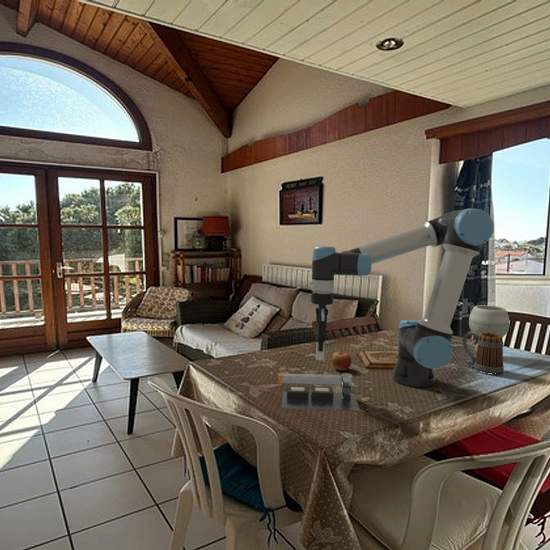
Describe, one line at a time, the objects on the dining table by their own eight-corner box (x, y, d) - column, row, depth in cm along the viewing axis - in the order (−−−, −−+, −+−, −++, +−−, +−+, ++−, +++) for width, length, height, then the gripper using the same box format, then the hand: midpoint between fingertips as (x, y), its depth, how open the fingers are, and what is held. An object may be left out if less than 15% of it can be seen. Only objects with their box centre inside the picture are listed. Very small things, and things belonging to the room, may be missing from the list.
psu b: (307, 393, 133) (308, 386, 133) (308, 399, 128) (308, 392, 128) (287, 392, 133) (287, 385, 133) (286, 399, 128) (287, 391, 128)
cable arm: (351, 382, 131) (351, 373, 131) (352, 386, 128) (353, 377, 127) (278, 380, 132) (278, 371, 132) (277, 384, 129) (277, 375, 128)
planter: (513, 357, 178) (517, 308, 176) (495, 363, 169) (499, 312, 167) (478, 348, 192) (481, 303, 189) (459, 354, 183) (462, 306, 180)
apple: (336, 364, 166) (337, 346, 165) (354, 368, 162) (354, 349, 161) (327, 370, 160) (328, 350, 159) (345, 374, 155) (346, 354, 154)
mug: (506, 370, 161) (509, 334, 159) (499, 377, 153) (502, 339, 151) (465, 362, 171) (467, 328, 170) (457, 368, 164) (459, 332, 162)
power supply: (331, 394, 133) (331, 386, 132) (333, 400, 128) (333, 392, 127) (310, 393, 133) (311, 386, 133) (311, 399, 128) (311, 392, 128)
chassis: (353, 396, 133) (354, 382, 133) (360, 414, 120) (360, 397, 120) (282, 394, 134) (282, 380, 134) (281, 412, 122) (281, 395, 121)
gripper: (310, 288, 140) (308, 353, 143) (312, 294, 127) (309, 365, 130) (331, 289, 140) (329, 354, 142) (335, 295, 127) (332, 366, 129)
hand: (319, 359), depth 136 cm, fingers closed
